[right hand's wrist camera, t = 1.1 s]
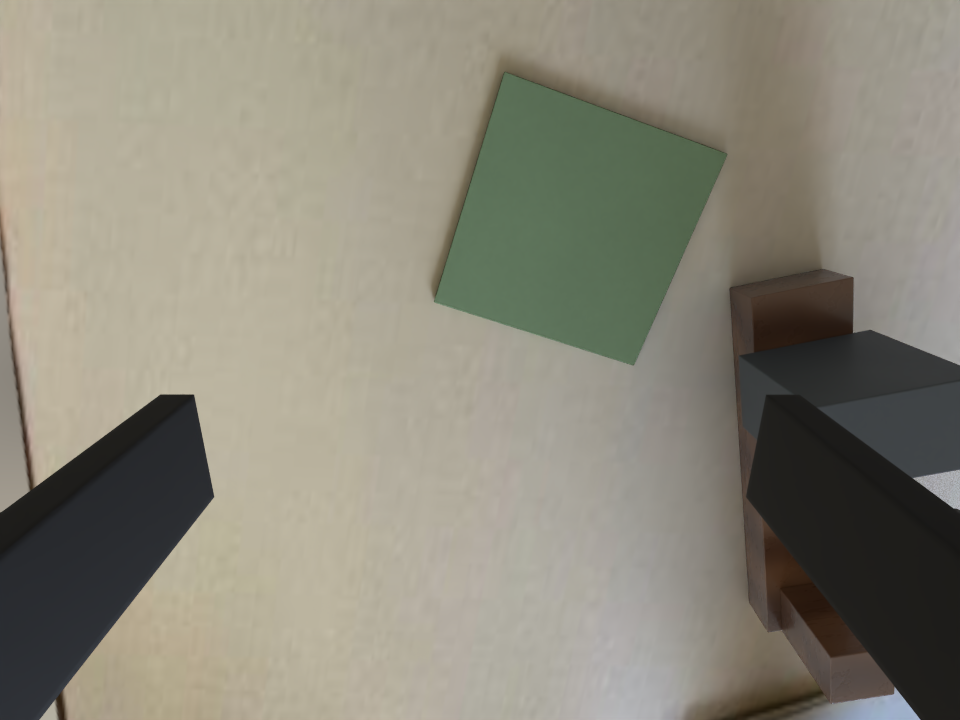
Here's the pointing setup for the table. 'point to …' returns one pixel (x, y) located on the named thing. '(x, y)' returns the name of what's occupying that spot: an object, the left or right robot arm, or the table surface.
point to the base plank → (771, 568)
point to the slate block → (866, 395)
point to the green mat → (575, 220)
